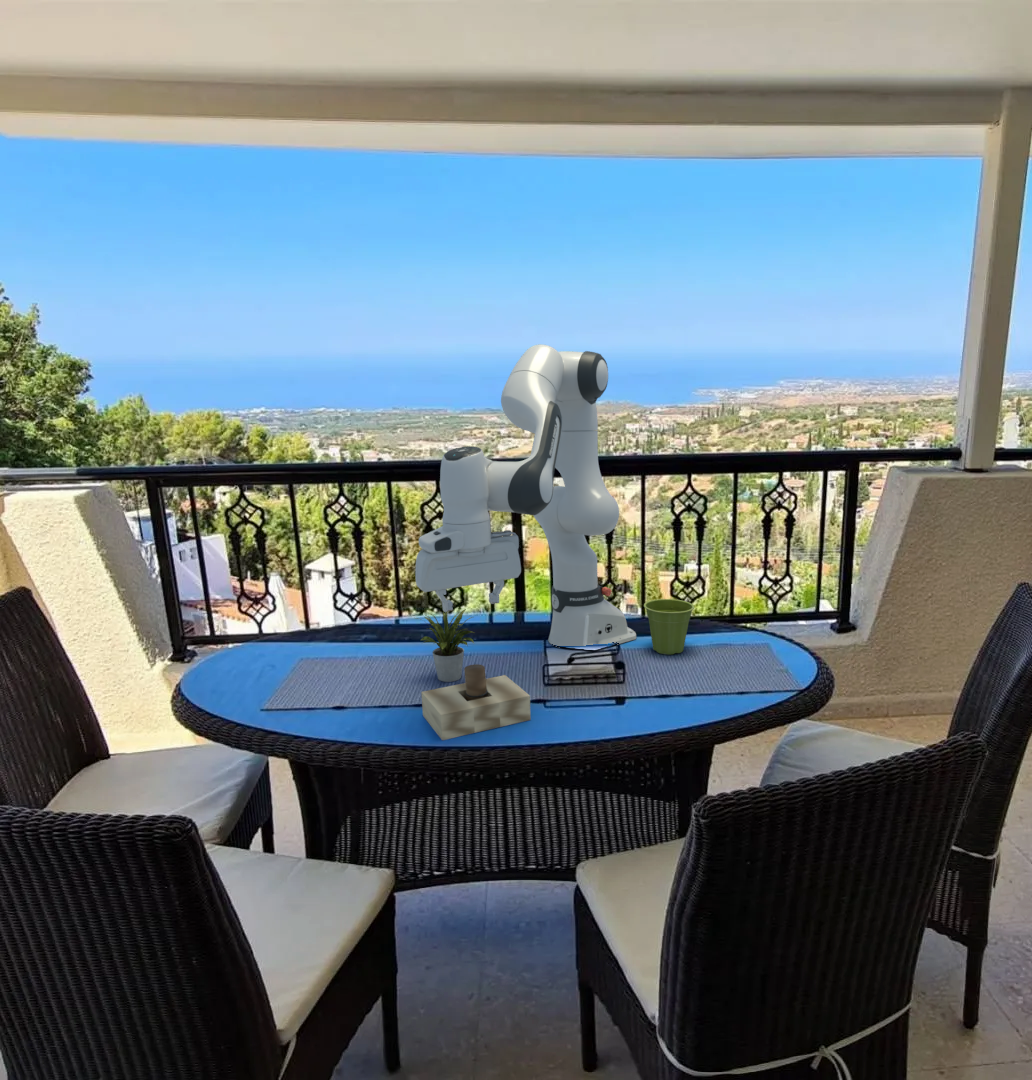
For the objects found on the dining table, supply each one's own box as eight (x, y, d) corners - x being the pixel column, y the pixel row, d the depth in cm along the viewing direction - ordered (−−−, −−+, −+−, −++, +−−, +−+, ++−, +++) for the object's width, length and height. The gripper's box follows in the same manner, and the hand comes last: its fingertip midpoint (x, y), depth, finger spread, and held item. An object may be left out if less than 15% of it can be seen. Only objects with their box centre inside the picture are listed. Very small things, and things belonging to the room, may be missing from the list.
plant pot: (698, 658, 170) (699, 611, 168) (647, 659, 171) (647, 613, 168) (688, 641, 182) (688, 597, 180) (640, 642, 182) (640, 599, 180)
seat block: (505, 697, 152) (505, 675, 151) (530, 719, 141) (529, 695, 140) (422, 715, 145) (421, 691, 144) (442, 740, 134) (440, 714, 133)
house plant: (417, 695, 154) (412, 621, 151) (408, 672, 168) (404, 604, 164) (482, 686, 158) (479, 613, 155) (469, 664, 171) (466, 597, 168)
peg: (484, 709, 146) (480, 662, 144) (492, 717, 142) (488, 669, 140) (464, 714, 144) (460, 667, 142) (473, 722, 141) (468, 674, 138)
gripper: (511, 526, 142) (514, 594, 145) (410, 539, 134) (415, 611, 137) (524, 531, 137) (527, 602, 140) (420, 545, 129) (425, 620, 132)
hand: (471, 606), depth 138 cm, fingers open, 8 cm apart
